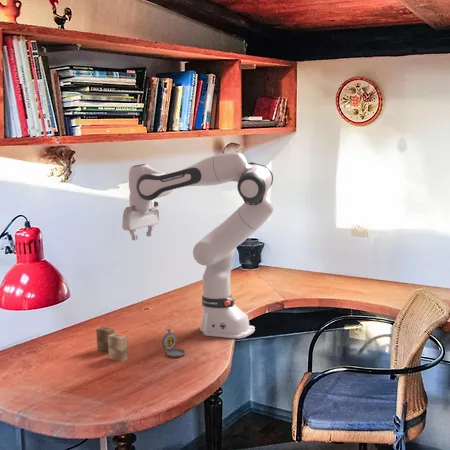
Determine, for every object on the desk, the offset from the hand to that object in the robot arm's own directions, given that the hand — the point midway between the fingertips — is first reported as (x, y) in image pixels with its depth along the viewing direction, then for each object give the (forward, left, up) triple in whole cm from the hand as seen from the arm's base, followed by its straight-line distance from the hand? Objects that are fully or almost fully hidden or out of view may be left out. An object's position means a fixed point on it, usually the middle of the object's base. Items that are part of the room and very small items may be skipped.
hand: (142, 238), depth 252 cm
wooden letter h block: (-4, +30, -37) cm, 48 cm away
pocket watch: (-29, +21, -38) cm, 52 cm away
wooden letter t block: (-13, +34, -37) cm, 52 cm away
